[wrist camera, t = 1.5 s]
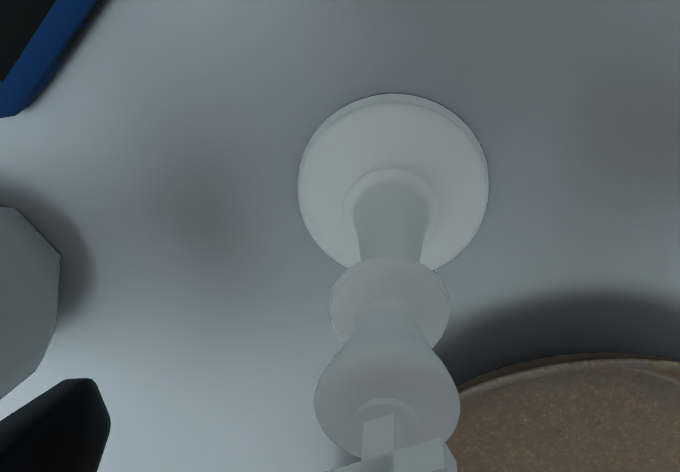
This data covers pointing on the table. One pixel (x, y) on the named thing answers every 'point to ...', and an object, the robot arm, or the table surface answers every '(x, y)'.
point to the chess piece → (391, 272)
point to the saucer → (571, 416)
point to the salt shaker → (25, 298)
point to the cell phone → (36, 45)
